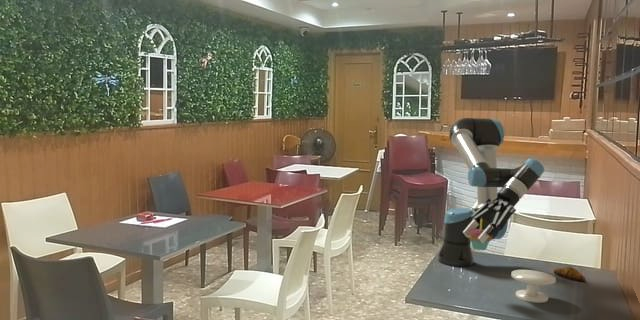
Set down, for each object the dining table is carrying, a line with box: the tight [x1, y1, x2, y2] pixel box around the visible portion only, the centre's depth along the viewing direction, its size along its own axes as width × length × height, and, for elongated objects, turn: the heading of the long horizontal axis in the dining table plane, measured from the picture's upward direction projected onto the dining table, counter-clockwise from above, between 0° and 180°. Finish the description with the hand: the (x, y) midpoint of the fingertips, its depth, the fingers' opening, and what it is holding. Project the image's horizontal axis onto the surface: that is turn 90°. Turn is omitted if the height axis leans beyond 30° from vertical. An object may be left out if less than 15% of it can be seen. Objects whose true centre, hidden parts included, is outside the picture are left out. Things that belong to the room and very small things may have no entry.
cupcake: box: [468, 217, 493, 251], centre depth 200 cm, size 9×8×12 cm
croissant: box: [553, 266, 586, 283], centre depth 224 cm, size 14×7×5 cm, turn 33°
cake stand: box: [511, 269, 557, 304], centre depth 197 cm, size 15×15×8 cm
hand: (472, 237), depth 198 cm, fingers closed on cupcake, 8 cm apart
